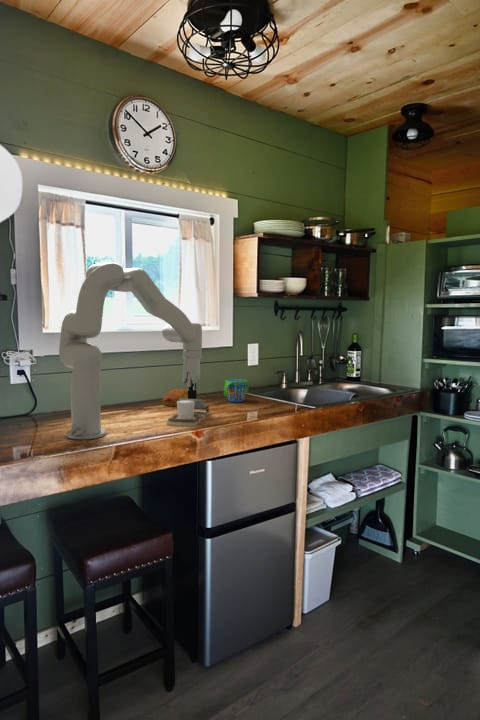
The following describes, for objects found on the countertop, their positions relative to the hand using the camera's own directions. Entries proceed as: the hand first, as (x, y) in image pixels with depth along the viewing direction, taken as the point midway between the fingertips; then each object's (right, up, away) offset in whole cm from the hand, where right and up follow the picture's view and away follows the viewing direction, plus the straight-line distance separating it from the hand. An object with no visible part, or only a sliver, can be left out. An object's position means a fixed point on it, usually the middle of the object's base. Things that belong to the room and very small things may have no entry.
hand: (192, 399), depth 199 cm
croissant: (-9, -5, +28) cm, 29 cm away
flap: (0, -2, +1) cm, 3 cm away
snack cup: (+17, -4, +36) cm, 40 cm away
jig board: (-1, -7, -4) cm, 8 cm away
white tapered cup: (-2, -7, -9) cm, 12 cm away
